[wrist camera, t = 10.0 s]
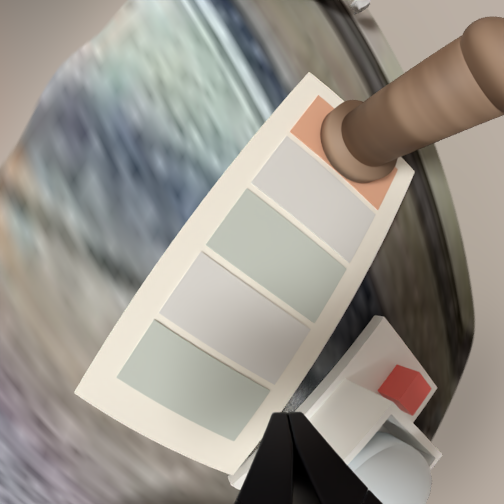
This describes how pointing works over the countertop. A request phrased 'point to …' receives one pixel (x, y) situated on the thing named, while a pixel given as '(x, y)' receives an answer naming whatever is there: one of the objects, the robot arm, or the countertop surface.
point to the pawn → (420, 105)
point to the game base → (368, 397)
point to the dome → (393, 470)
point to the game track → (246, 291)
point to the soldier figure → (359, 5)
